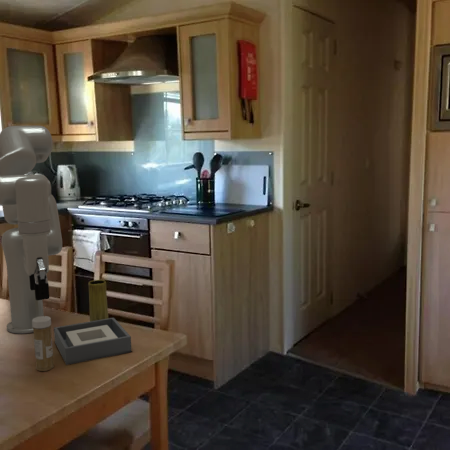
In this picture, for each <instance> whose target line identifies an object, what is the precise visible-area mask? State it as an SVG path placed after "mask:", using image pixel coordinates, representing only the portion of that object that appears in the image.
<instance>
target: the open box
mask: <svg viewBox="0 0 450 450" xmlns="http://www.w3.org/2000/svg"><path fill="white" fill-rule="evenodd" d="M103 325H108V326H109V328H110V329H111V330H112V331H113V333H114V334H115V335H116V336H117V337H118V338H115V339H109V340H104V341H98V342H93V343H87V344H82V345H76V346H71V347H69V346H68V344H67V342H66V332H68V331H74V330H80V329H86V328H91V327H97V326H103ZM53 336H54V337H53V338H54V343H55V345H56V348H57V349H58V351H59V353H60V355H61V357H62V359H63V361H64V363H65V365H66V366H68V365H73V364H74V365H75V364H77V363H78V364H79V363H83V362H84V363H85V362H88V361H89V362H90V361H94V360H99V359H103V358H107V357H108V358H110V357H114V356H119V355H123V354H128V353H132V337H131V335H130V334H129V332H127V330H126V329H125V328H124V327H123V326H122V325H121V324H120V322H118V320H116V318H115V317H108V319H102V320H96V321H90V320H89V321H86V322H78V323H73V324H68V325H67V324H66V325H61V326H56V327H55V326H54V327H53Z"/></svg>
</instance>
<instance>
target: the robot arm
mask: <svg viewBox="0 0 450 450" xmlns="http://www.w3.org/2000/svg"><path fill="white" fill-rule="evenodd" d="M52 150H53V138H52V134H51V132H50V130H49V129H48V128H47V127H45V126H44V125H11V126H7V127H5V128H3V129H1V131H0V206H2V213H3V217H4V220H5V222H6V223H8V224H9V225H17V227H14V228H10V229H7V230H5V232H3V234H2V236H1V246H2V251H3V255H4V261H5V264H6V271H7V273H6V274H7V284H8V294H9V307H10V319H11V321H10V322H9V323H7V325H6V330H7V332H9V333H12V334H21V335H22V334H30V333H31V334H32V333H34V331H33V327H32V320H33V319H34V318H36V317H40V316H45V315H44V303H43V300H49V299H50V287H49V281H48V280H49V279H48V273H49V271H50V268H49V267H50V266H49V265H50V264H49V256H55V255H58V254H60V253H61V252H62V250H63V238H62V230H61V223H60V218H59V217H60V216H59V210H58V205H57V200H56V199H55V197H54V195H53V194H52V186H51V182H50V180H49V179H48V178H47V176H45V175H44V174H40V173H38V174H37V173H36V174H35V173H32V174H28V173H30V172H32V170H33V169H34V168H35V167H36V164H40V163H45V162H46V161H47V159H48V158H49V156H50V155H51V152H52Z"/></svg>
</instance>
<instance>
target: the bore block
mask: <svg viewBox="0 0 450 450" xmlns="http://www.w3.org/2000/svg"><path fill="white" fill-rule="evenodd" d="M115 338H118V337H117V336H116V335H115V334H114V333H113V331H112V330H111V329H110V328H109V326H108V325H103V326H97V327H91V328H86V329H80V330H74V331H68V332H66V342H67V344H68V346H69V347H71V346H76V345H82V344H87V343H93V342H98V341H104V340H109V339H115Z"/></svg>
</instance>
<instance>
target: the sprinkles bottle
mask: <svg viewBox="0 0 450 450" xmlns="http://www.w3.org/2000/svg"><path fill="white" fill-rule="evenodd" d="M51 326H52V318H51V317H50V316H48V315H44V316H40V317H36V318H34V319H33V320H32V327H33V331H34V332H33V343H34V353H35V354H34V355H35V363H36V366H35V370H37V371H39V372H48V371H50V370H52V369H54V367H55V362H54V350H53V338H52V329H51Z"/></svg>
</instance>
